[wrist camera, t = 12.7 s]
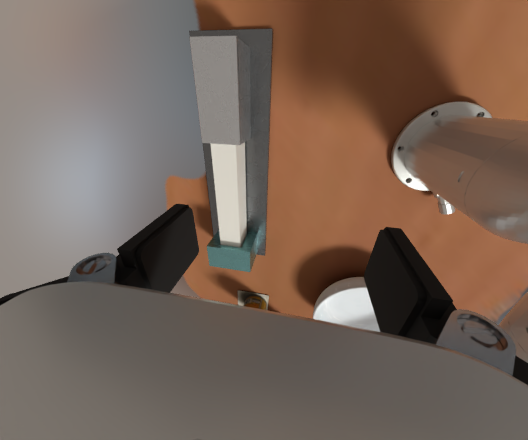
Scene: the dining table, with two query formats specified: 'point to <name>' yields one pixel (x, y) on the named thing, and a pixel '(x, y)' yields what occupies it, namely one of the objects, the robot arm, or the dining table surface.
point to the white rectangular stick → (230, 192)
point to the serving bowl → (347, 304)
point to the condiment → (253, 300)
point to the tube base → (257, 132)
